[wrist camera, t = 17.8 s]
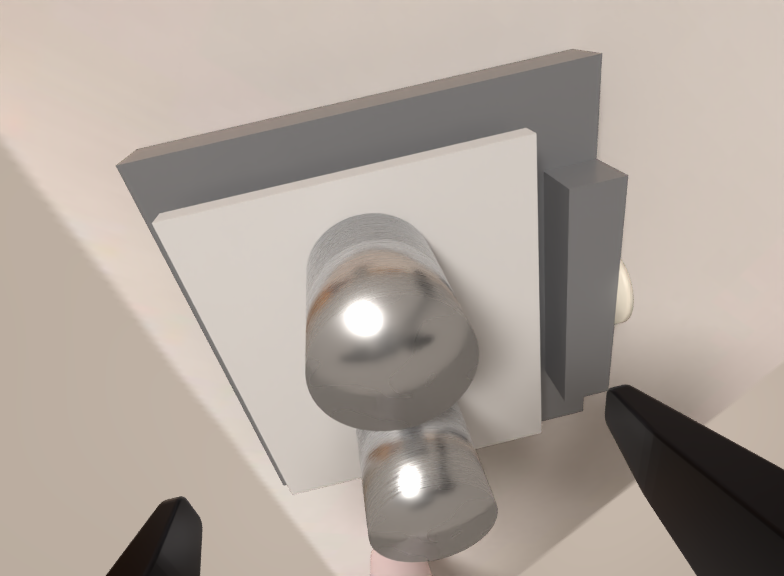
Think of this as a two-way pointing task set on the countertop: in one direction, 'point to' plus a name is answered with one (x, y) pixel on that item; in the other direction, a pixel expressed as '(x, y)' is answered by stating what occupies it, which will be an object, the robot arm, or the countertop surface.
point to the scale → (427, 214)
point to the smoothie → (396, 567)
